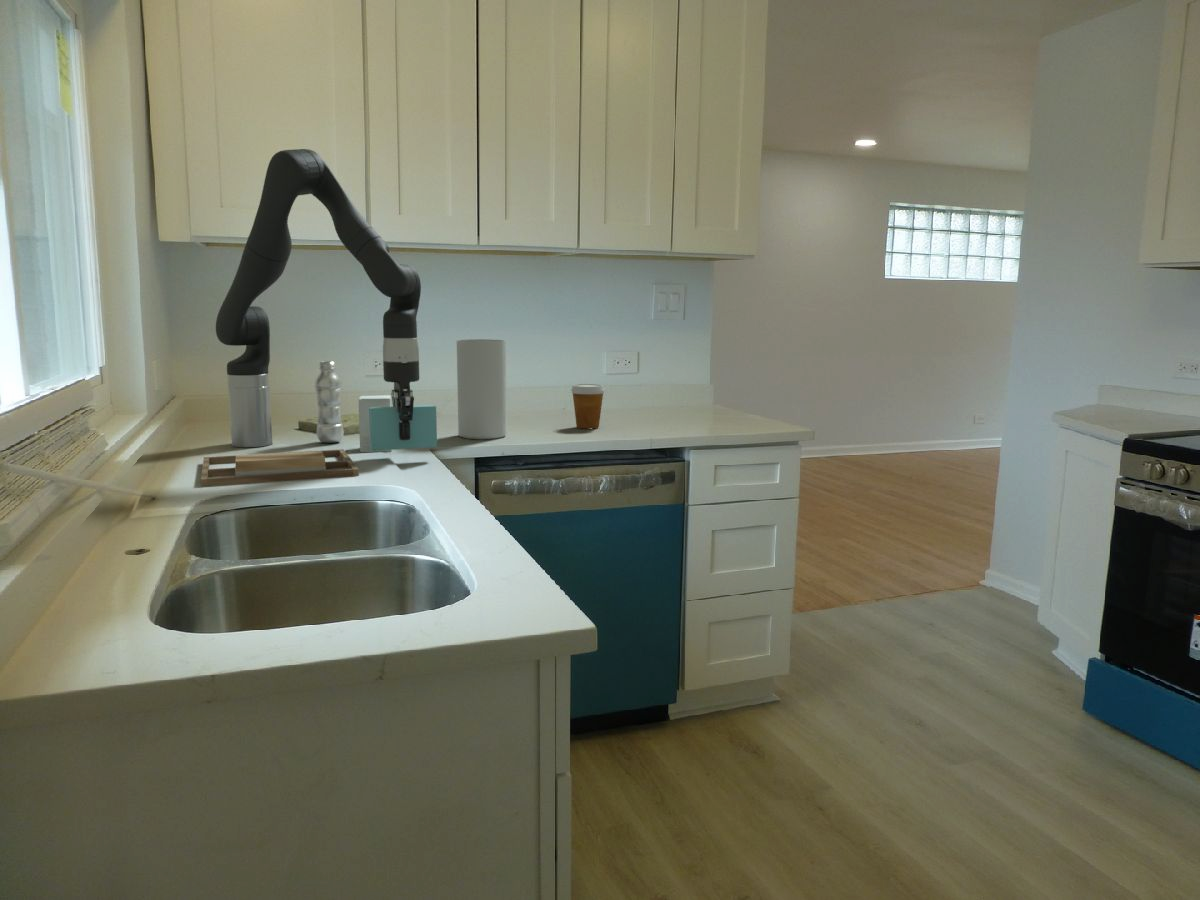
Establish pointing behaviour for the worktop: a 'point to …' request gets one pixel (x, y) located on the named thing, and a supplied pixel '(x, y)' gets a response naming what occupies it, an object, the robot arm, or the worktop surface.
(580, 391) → the disposable coffee cup
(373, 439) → the teal block
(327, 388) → the plastic bottle
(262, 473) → the grey flat panel
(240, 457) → the oak offcut top
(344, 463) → the tray
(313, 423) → the decorative tile
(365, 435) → the supplement box
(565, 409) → the worktop surface
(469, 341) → the cylinder vase
